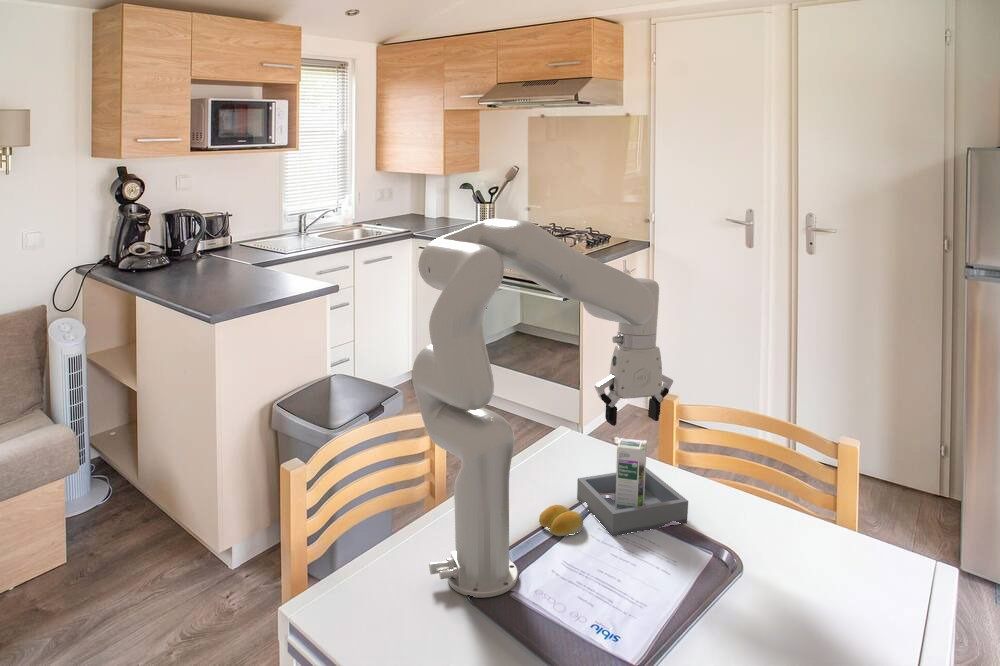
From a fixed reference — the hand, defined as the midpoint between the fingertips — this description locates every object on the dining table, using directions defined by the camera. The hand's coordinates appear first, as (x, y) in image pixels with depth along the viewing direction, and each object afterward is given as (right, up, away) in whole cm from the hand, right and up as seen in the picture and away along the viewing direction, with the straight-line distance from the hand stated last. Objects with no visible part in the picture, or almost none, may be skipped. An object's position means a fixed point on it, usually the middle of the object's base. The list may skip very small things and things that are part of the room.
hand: (632, 421), depth 146 cm
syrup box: (0, -19, +5) cm, 20 cm away
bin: (0, -20, +5) cm, 20 cm away
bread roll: (-15, -22, -1) cm, 26 cm away
